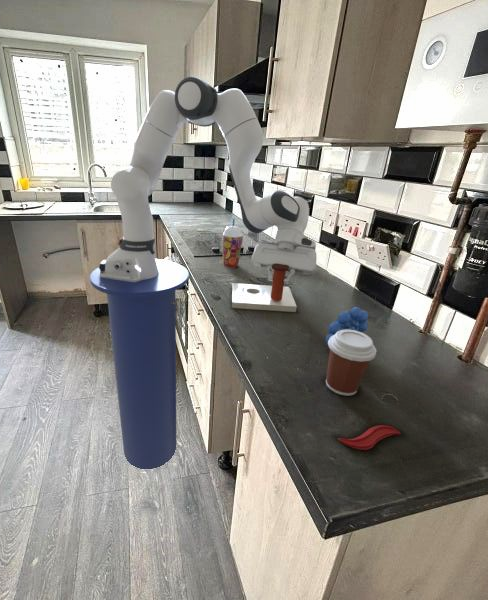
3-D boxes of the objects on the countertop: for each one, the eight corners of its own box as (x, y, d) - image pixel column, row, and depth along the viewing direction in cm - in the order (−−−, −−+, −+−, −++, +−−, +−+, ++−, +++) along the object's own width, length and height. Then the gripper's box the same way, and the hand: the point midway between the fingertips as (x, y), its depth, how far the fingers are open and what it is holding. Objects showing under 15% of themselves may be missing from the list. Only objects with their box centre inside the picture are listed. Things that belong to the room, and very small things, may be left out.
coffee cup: (310, 377, 71) (320, 330, 66) (341, 368, 75) (353, 323, 70) (341, 405, 64) (355, 355, 59) (373, 393, 67) (389, 345, 62)
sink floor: (231, 307, 101) (232, 302, 100) (232, 288, 116) (232, 283, 115) (295, 312, 100) (296, 306, 99) (288, 291, 115) (289, 286, 114)
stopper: (268, 301, 101) (272, 268, 96) (267, 294, 106) (271, 262, 101) (285, 302, 101) (290, 269, 96) (283, 295, 105) (287, 263, 101)
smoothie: (227, 261, 144) (230, 215, 135) (243, 265, 139) (247, 218, 131) (217, 265, 137) (219, 218, 129) (234, 270, 133) (237, 221, 125)
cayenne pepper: (343, 450, 54) (345, 441, 53) (332, 428, 58) (334, 420, 57) (411, 448, 55) (415, 440, 54) (395, 427, 59) (398, 419, 58)
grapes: (348, 338, 87) (359, 298, 82) (367, 351, 82) (379, 309, 76) (312, 344, 84) (321, 303, 79) (329, 359, 78) (340, 315, 73)
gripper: (255, 234, 105) (244, 271, 101) (320, 242, 98) (311, 283, 94) (257, 244, 110) (247, 280, 106) (319, 253, 104) (311, 291, 100)
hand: (278, 281), depth 100 cm, fingers closed on stopper, 3 cm apart
